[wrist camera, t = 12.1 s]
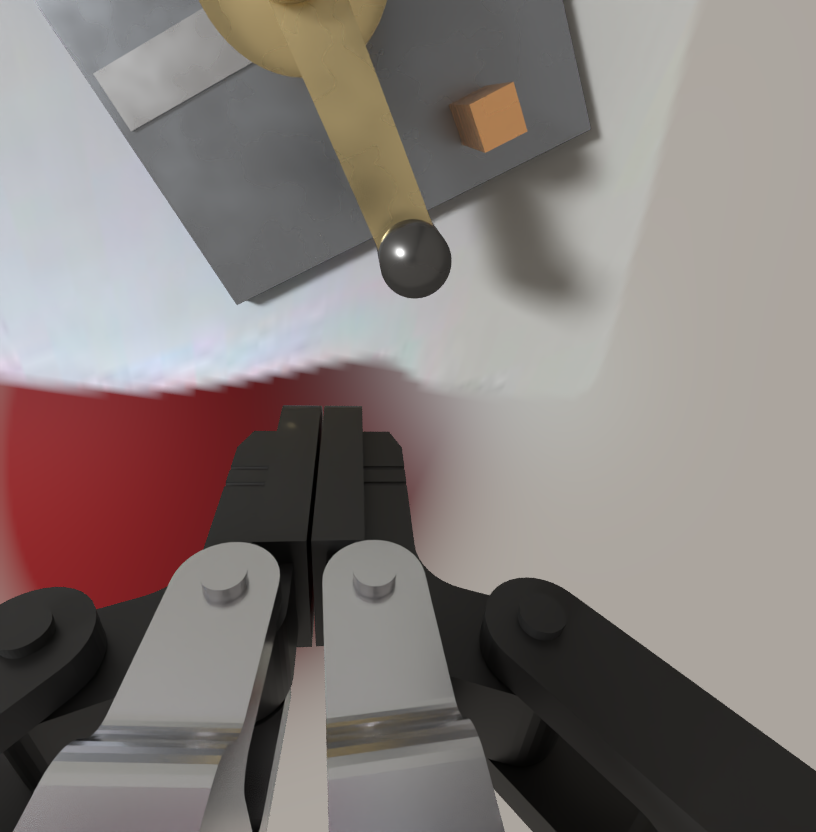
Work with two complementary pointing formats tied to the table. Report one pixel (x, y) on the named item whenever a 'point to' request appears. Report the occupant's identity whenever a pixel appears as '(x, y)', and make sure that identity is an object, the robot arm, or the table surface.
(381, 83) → the lock base
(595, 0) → the table surface
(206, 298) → the table surface
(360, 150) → the brass lever handle
